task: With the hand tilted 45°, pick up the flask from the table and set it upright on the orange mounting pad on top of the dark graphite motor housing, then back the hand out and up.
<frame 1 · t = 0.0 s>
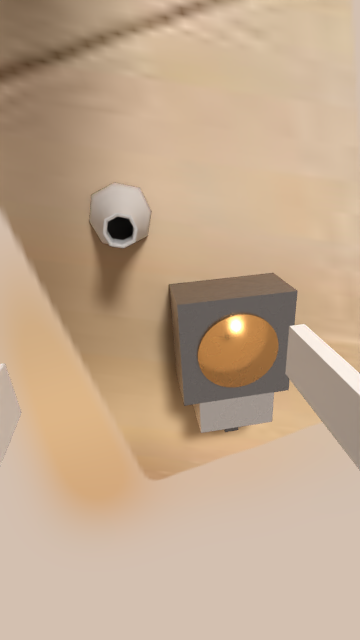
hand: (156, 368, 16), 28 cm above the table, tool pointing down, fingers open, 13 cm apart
motor housing: (222, 326, 48), on the table
flask: (120, 215, 40), on the table
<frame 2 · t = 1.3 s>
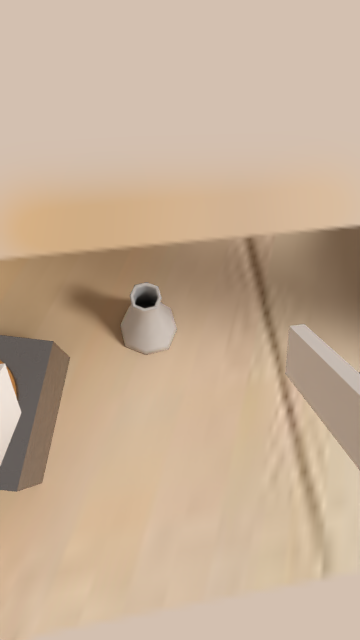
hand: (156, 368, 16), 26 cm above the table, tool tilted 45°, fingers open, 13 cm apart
flask: (148, 328, 44), on the table
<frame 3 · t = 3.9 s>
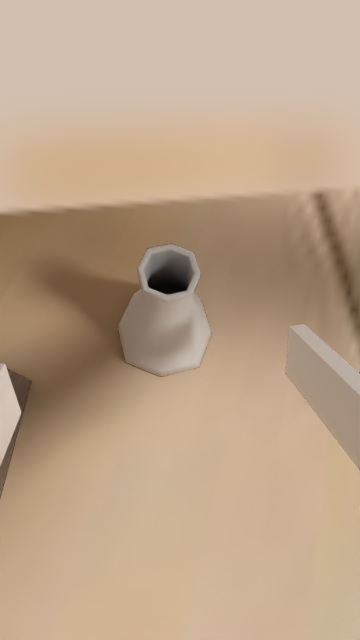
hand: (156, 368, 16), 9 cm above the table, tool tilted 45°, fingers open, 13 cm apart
flask: (164, 331, 27), on the table
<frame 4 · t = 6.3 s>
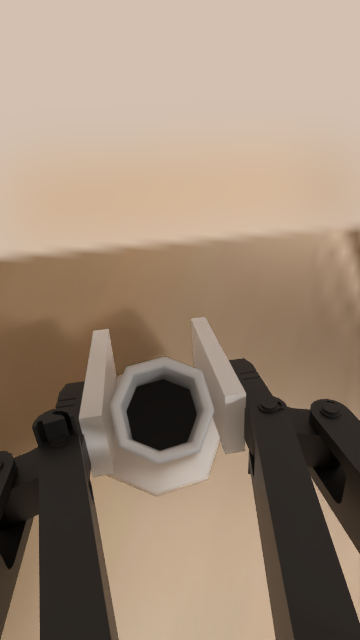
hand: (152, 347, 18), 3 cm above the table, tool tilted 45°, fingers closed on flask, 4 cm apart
flask: (160, 425, 20), on the table, touching gripper
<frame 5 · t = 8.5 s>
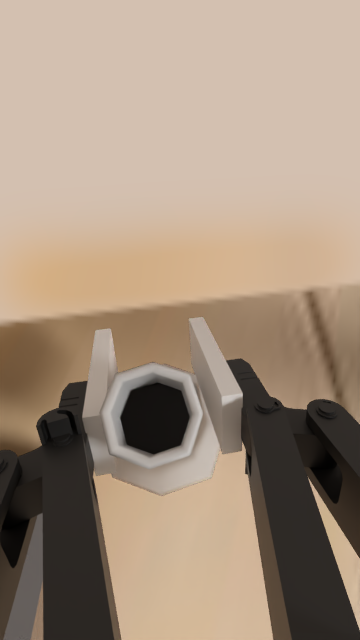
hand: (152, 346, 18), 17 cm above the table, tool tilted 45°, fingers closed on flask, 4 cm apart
flask: (163, 426, 20), point 13 cm above the table, touching gripper
when the fingers open (12 cm above the table, at t = 10.6 s): flask drops 1 cm, resting on motor housing.
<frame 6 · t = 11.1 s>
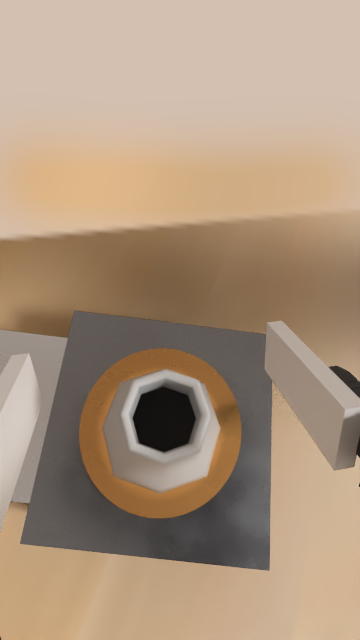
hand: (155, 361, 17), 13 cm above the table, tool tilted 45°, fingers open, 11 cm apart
motor housing: (160, 431, 28), on the table
flask: (161, 428, 21), point 7 cm above the table, touching motor housing
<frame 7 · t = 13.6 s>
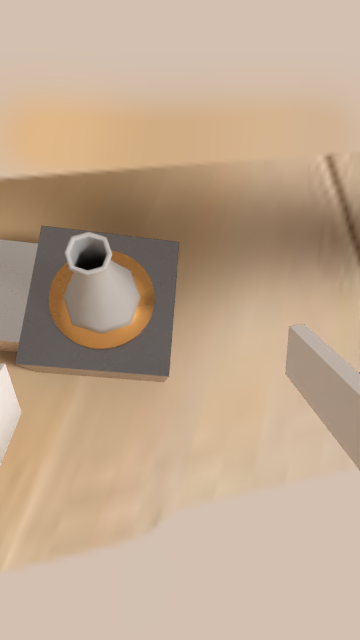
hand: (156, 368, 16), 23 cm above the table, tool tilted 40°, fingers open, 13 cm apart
motor housing: (109, 316, 40), on the table
flask: (103, 298, 33), point 7 cm above the table, touching motor housing
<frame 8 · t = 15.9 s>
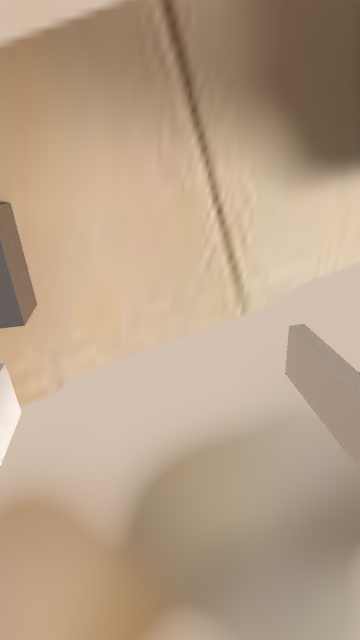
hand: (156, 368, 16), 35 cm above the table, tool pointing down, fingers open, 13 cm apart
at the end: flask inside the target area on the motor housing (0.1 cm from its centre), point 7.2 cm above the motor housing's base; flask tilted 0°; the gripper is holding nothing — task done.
